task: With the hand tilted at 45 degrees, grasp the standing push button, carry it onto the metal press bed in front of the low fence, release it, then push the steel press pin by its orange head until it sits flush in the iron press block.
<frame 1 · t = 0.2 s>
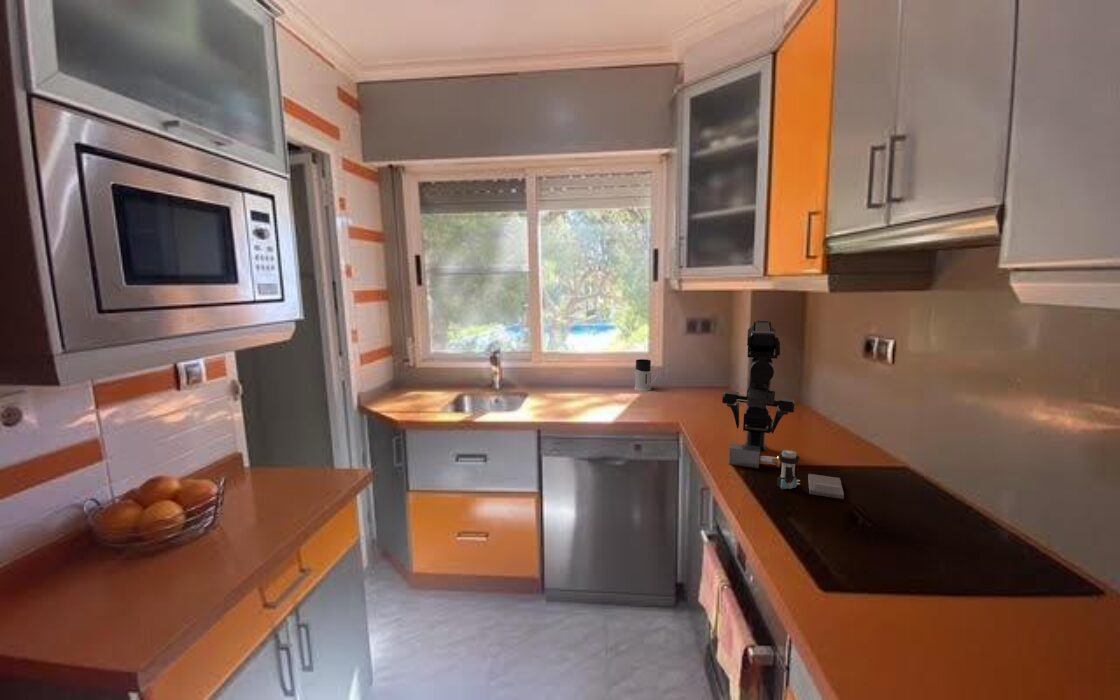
hand: (754, 430, 144), 14 cm above the worktop, tool pointing down, fingers open, 9 cm apart
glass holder: (646, 390, 259), on the worktop
press bed: (824, 487, 139), on the worktop
press block: (744, 463, 157), on the worktop
push button: (789, 487, 140), on the worktop
press pin: (764, 459, 155), point 2 cm above the worktop, slide at 0.0 cm
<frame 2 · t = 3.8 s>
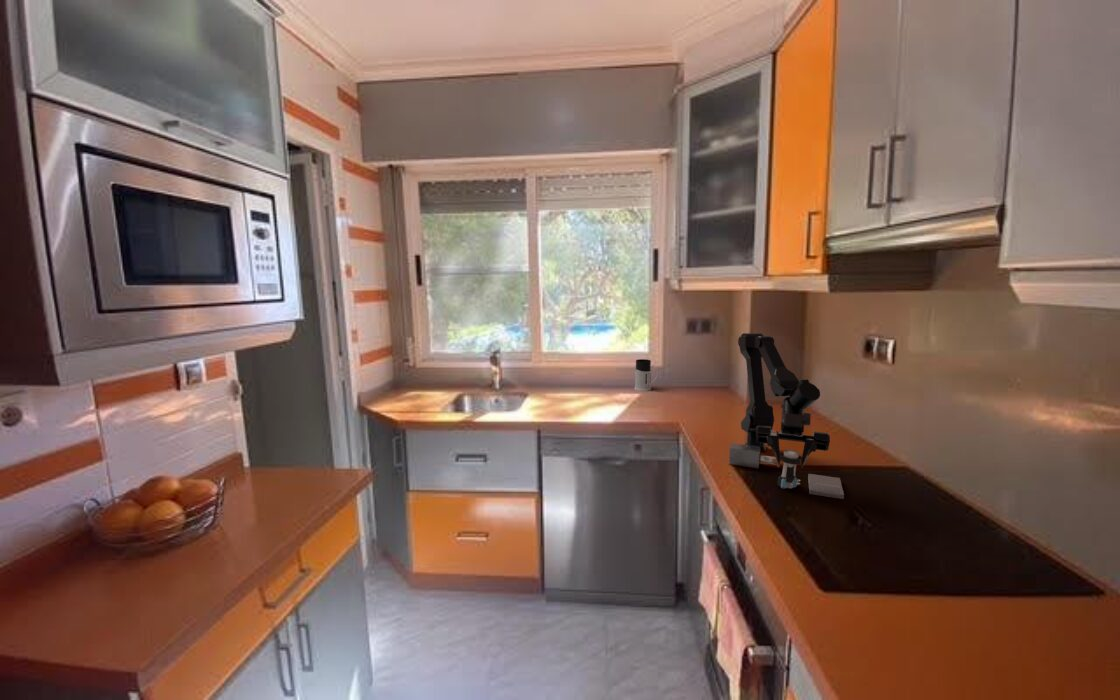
hand: (790, 465, 138), 7 cm above the worktop, tool tilted 45°, fingers closed on push button, 5 cm apart
push button: (789, 486, 140), on the worktop, touching gripper
everything else where it was.
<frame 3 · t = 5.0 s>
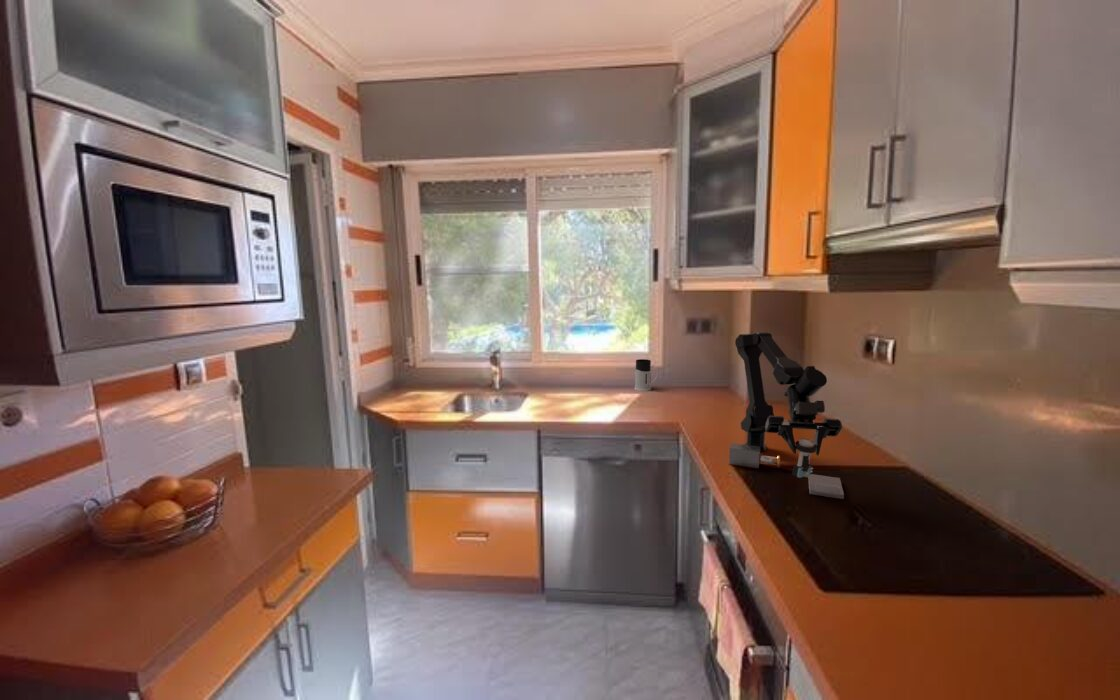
hand: (806, 454, 136), 10 cm above the worktop, tool tilted 45°, fingers closed on push button, 5 cm apart
push button: (803, 475, 139), point 3 cm above the worktop, touching gripper
everything else where it was.
when the fingers open (8 cm above the worktop, at t = 6.2 s): push button stays where it is, resting on press bed.
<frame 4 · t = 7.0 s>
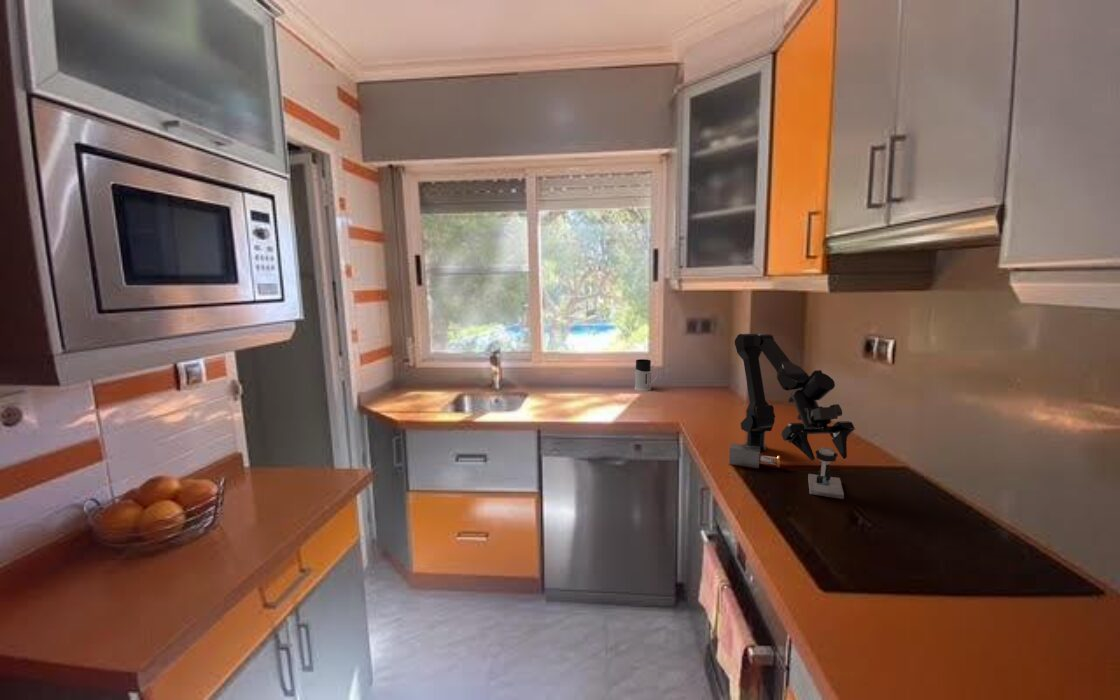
hand: (829, 459, 136), 9 cm above the worktop, tool tilted 45°, fingers open, 9 cm apart
push button: (824, 484, 139), point 1 cm above the worktop, touching press bed
everything else where it was.
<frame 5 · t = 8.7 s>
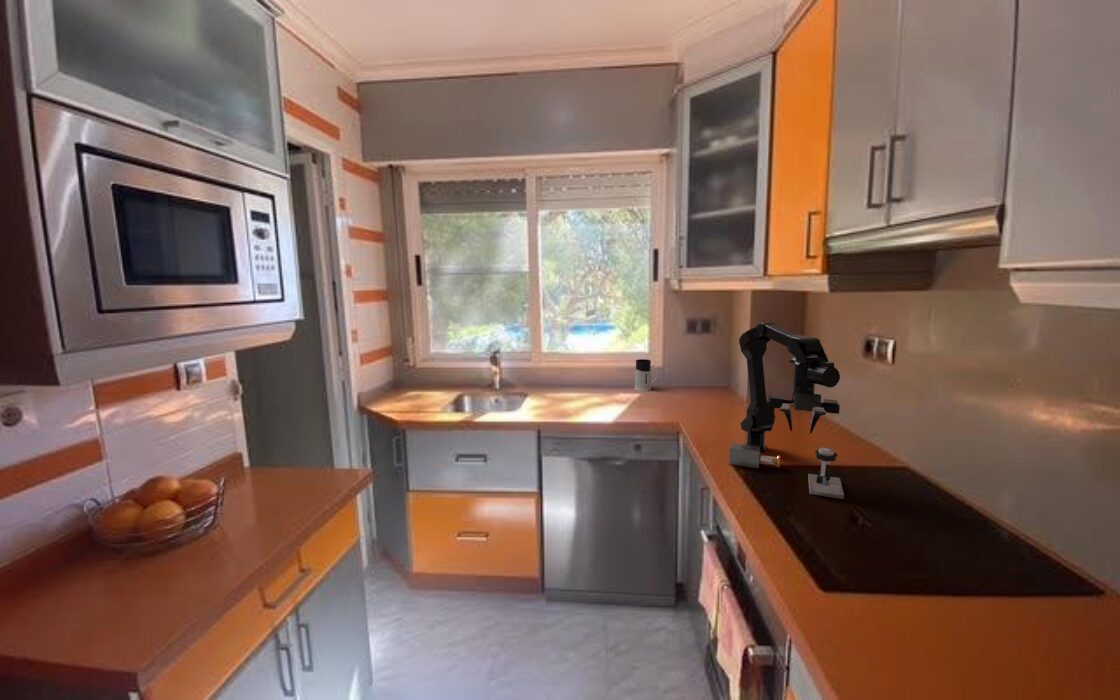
hand: (800, 432, 149), 12 cm above the worktop, tool pointing down, fingers open, 5 cm apart
nothing on the worktop moved.
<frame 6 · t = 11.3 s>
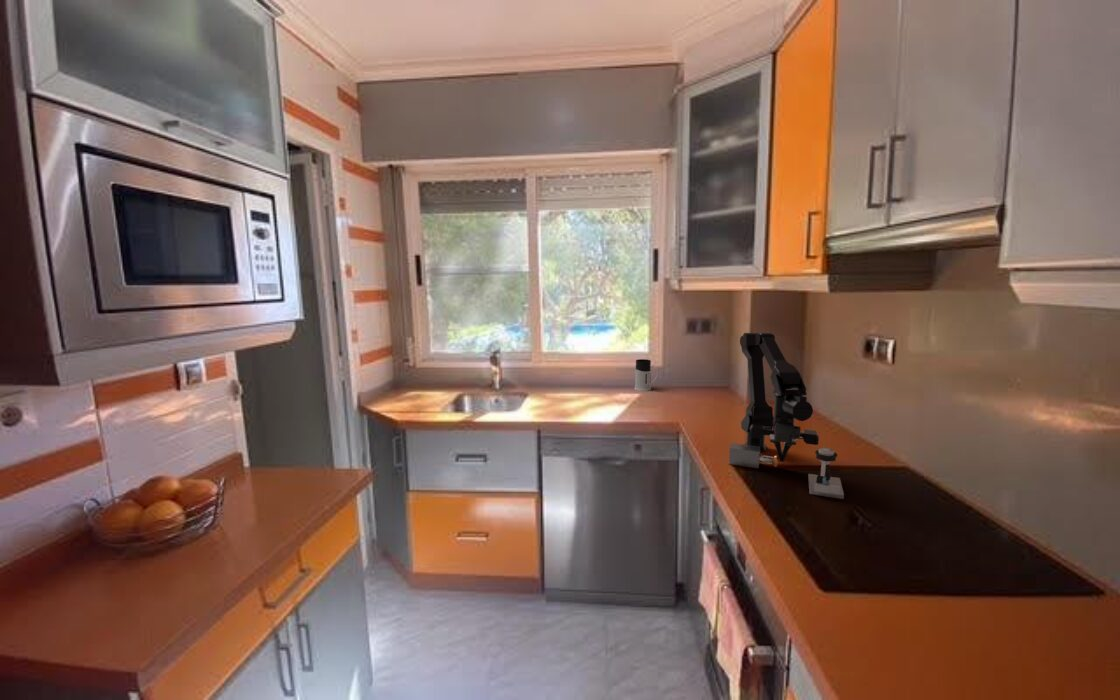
hand: (781, 461, 153), 2 cm above the worktop, tool pointing down, fingers closed
press pin: (761, 459, 155), point 2 cm above the worktop, slide at 0.7 cm, touching gripper
everything else where it was.
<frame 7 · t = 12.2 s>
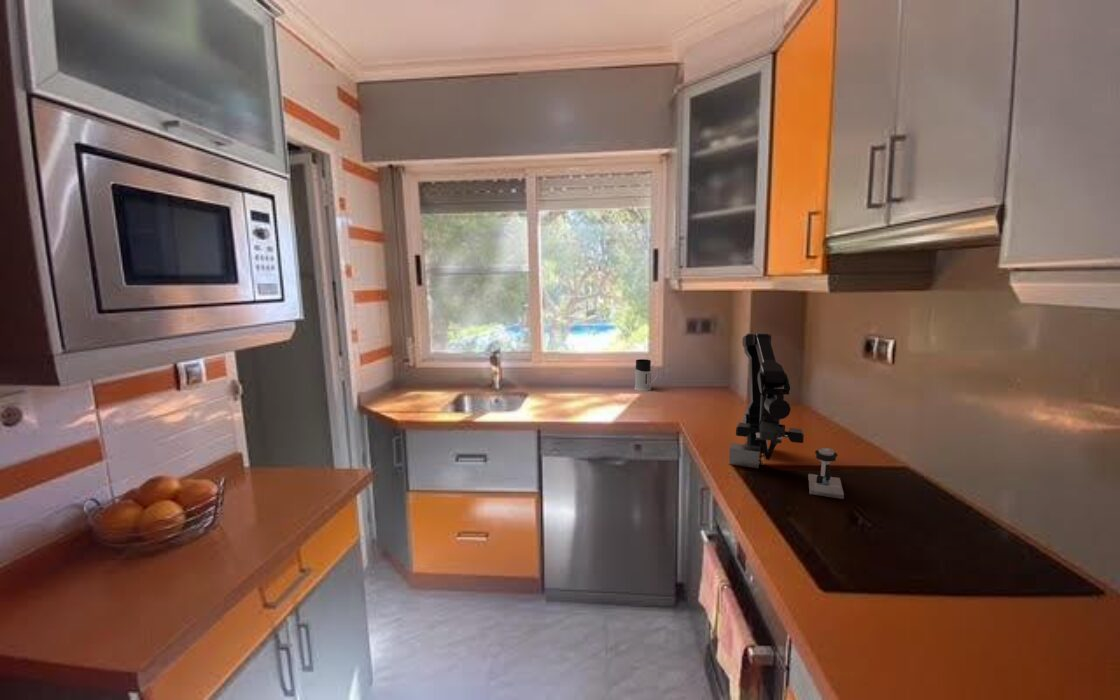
hand: (767, 459, 154), 2 cm above the worktop, tool pointing down, fingers closed
press pin: (748, 457, 156), point 2 cm above the worktop, slide at 4.6 cm, touching gripper
everything else where it was.
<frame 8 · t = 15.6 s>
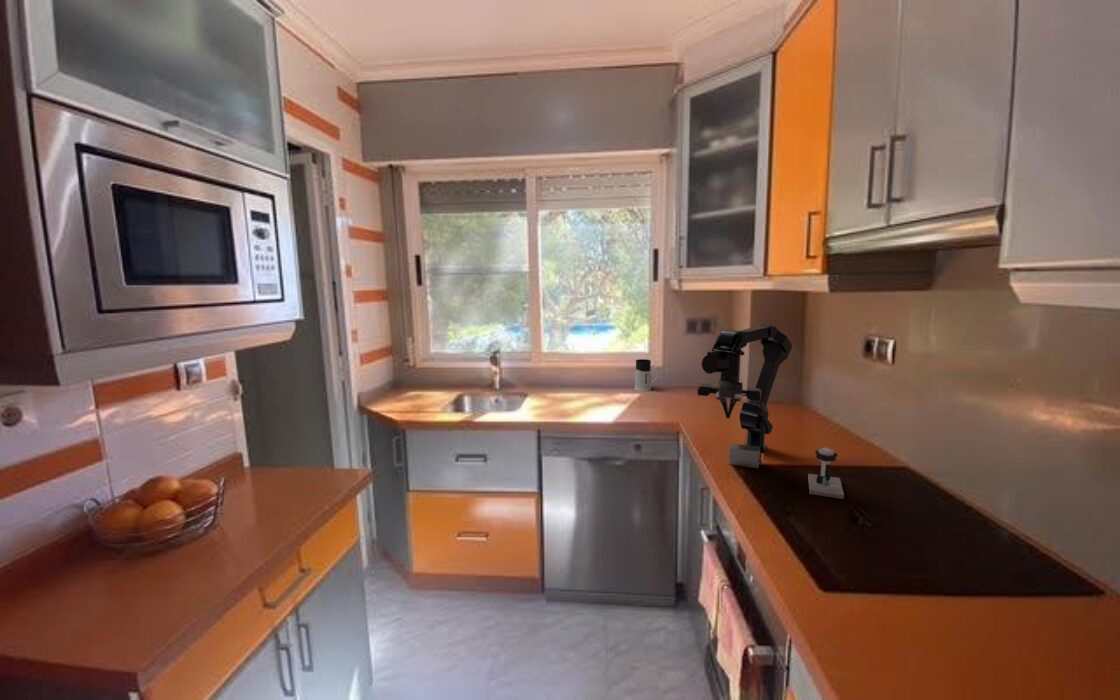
hand: (728, 418, 161), 13 cm above the worktop, tool pointing down, fingers closed
press pin: (747, 457, 157), point 2 cm above the worktop, slide at 4.7 cm
everything else where it was.
at the end: push button inside the target area (0.3 cm from its centre), point 1.0 cm above the worktop; push button tilted 0°; press pin slide at 4.7 cm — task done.
